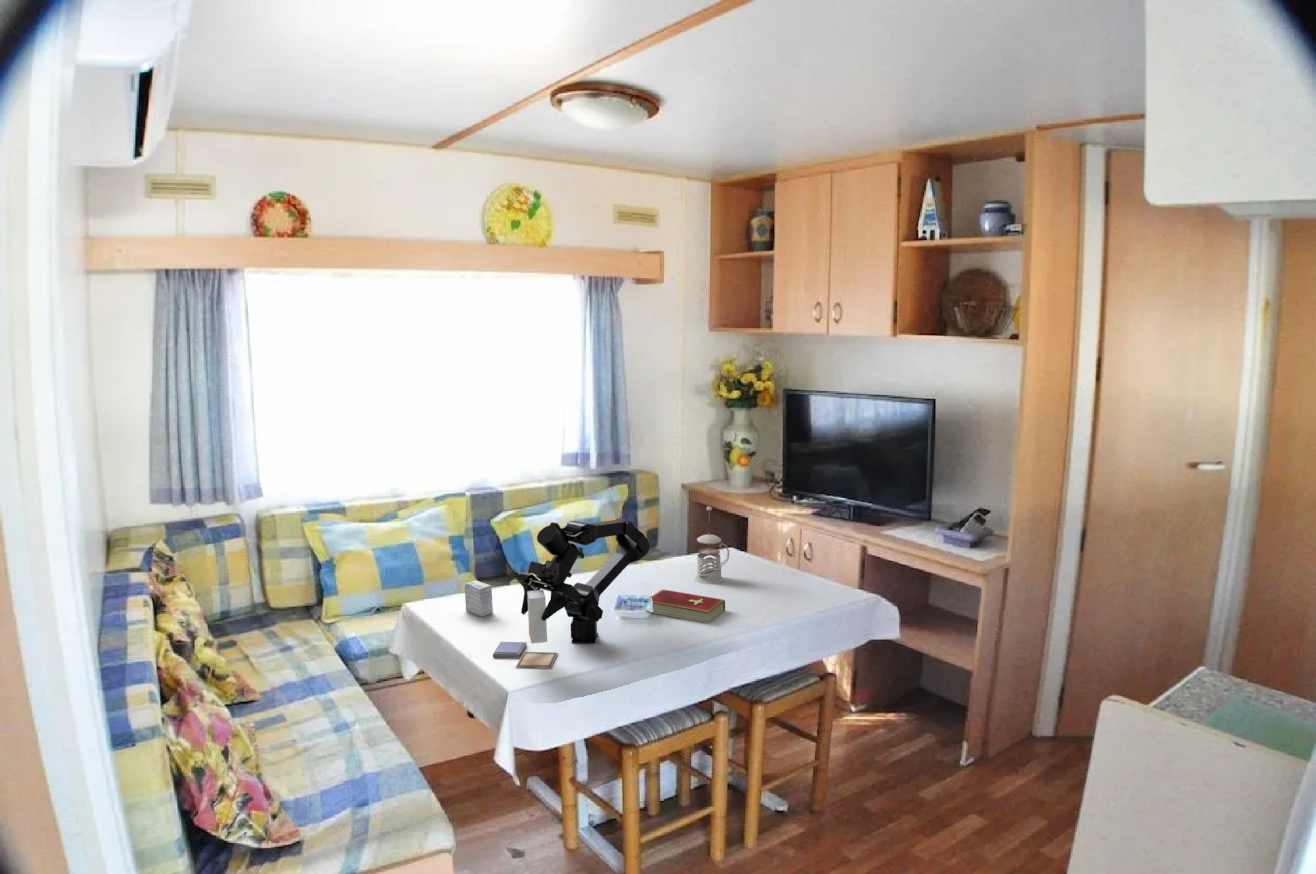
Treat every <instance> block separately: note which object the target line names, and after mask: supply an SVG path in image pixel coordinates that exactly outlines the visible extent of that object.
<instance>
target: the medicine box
mask: <svg viewBox="0 0 1316 874" xmlns="http://www.w3.org/2000/svg"><path fill="white" fill-rule="evenodd" d="M492 591H493V590H492V585H491V584H487V583H485V582H481V581H479V580H473V581H469V582H466V583H464V596H465V600H464V601H465V611H466V612H467V613H471V614H473V615H476V616H479V617H485V616H488V615H492V614H493V613H494V609H493V595H492V594H493V592H492ZM491 613H492V614H491Z"/></svg>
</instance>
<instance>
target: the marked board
mask: <svg viewBox="0 0 1316 874" xmlns="http://www.w3.org/2000/svg"><path fill="white" fill-rule="evenodd" d="M558 655H559V652H546V651H545V652H543V651H541V652H540V651H539V652H538V651H523V653H522V655H521V656H520V658H519V660H518V662H517V664H516V665H515V668H517V669H552V668H553V665H554V664H555V661H556V659H557V657H558Z"/></svg>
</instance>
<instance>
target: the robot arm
mask: <svg viewBox="0 0 1316 874" xmlns="http://www.w3.org/2000/svg"><path fill="white" fill-rule="evenodd" d="M614 536H615V541H616V543H617V544H616V551H615V553H614V554H613V555H612V556H611V557H610V558H609V559H608V560H607V561H606V563H604V564H603V565H602V567H600V569H599V570H598V571H597V572H596V573H595V574H594V575H592V577H591V578H590V579H589V580H588V581H587V582H586V583H581V582H576V583H575V584H574V585H573V584H570V583H566V582H565V581H566V579H567V578H569V579H571V577H572V575H573V573H571V571H572V568H573V567H574V565H575V563H576V561H577V560H578V558H579V559H581V560H582V559H585V554H584V551H583V550H584V549H583V548H582V547H578V546H577V545H582V546H587V545H590V544H593V543H595V542H596V541H597V539H600V538H601V539H603V538H607V537H608V538H609V537H614ZM536 540H537V542H538V544H540V546H541V547H542V548H544V550H546V551H547V552H548V553H549V554H550V555H552V559H551V560H549V559H548V560H546V561H545V562H544V563H540V562H537V561H534V560H530V561H529V566H528V570H527V572H524V571H522V572H520V573H519V574H518V576H517V577H516V582H517V583H519V584H520V586H521V587H523V592H524V593H523V600H522V605H521V610H520V613H521V614H522V615H525V614H526V613H528V597H527V591H536V590H543V591H547V592H550V599H549V601H548V603H547V604H546V609H545V611H544V613H543V615H542V618H541V619H542V620H543V621H545V620H546V621H547V620H548V619H549V618H550V617H551V616H553V615H554V614H556V613H557V612H558V611H560V610H562V609H563V608H564V610H565V613H566V616H567V617H570V618H572V620H571V623H570V639H571V643H572V644H596V642H597V640H598V637H599V632H598V622H599V620H601V619H602V618H603V613H604V610H603V609H602V608H601V607H600V606H599V604H600V596H601V595H602V594H603V593H604V591H606V590H607V588H608V587H609V586H611V584H612V583H613V582H614V581H615V580H616V578H618V576H620V574H621V573H622V572H623V571H624V570H625V569H626V568H627V566H629V565H630V564H632V563H635V562H638V561H640V560H641V559H642V558H644V557H645V556H647V554H648V553H649V551H650V547H651V546H650V545H651V544H650V542H649V539H648V538H647V537H646V535H645V534H644V533H643V532H642V531H640V530H639V528H637V527H636V526H635V524H634V523H633V522H632V521H631V520H629V519H622V518H616V519H613V520H606V521H598V522H597V521H596V522H583V521H577V520H570V521H568V522H567V524H566V525H565V526H563V527H561V526H560V524H559V523H558V522H555V521H554V522H553V521H551V522H550V524H549V525H547V526H545V527H543V528H542V529H541V530H539V531H538V534H537V536H536ZM576 544H577V545H576Z"/></svg>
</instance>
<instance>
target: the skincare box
mask: <svg viewBox="0 0 1316 874" xmlns="http://www.w3.org/2000/svg"><path fill="white" fill-rule="evenodd" d="M544 591H545V590H543V589H540V590H536V591H527V597H528V611H527V618H528V636H529V639H530V643H531V644H540V643H541V644H542V643H547V642H548V632H547V631H548V629H547V627H548V626H547V619H546V620H545V621H543V620H542V619H541V618H542V615H543V613H544V611H545V609H546V607H547V604H546V603H547V602H546V595H545V592H544Z"/></svg>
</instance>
